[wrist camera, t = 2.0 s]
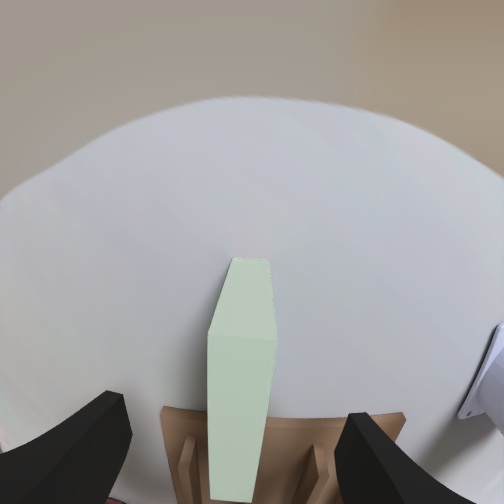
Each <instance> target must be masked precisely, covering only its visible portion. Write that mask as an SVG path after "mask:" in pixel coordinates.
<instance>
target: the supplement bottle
mask: <svg viewBox="0 0 504 504" xmlns="http://www.w3.org/2000/svg"><path fill="white" fill-rule="evenodd" d="M105 504H125V503H122V502H120V501H118V500H114V499H111V498H107V500H106V503H105Z"/></svg>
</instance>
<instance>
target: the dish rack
mask: <svg viewBox="0 0 504 504" xmlns="http://www.w3.org/2000/svg"><path fill="white" fill-rule="evenodd" d="M160 416H161V423H162V429H163V435H164V440H165V446H166V451H167V456H168V461H169V466H170V471H171V476H172V480H173V485H174V489H175V493H176V497H177V501H178V504H343V500H342V497H341V493H340V489H339V485H338V481H337V476H336V468H335V459H334V450H335V448H336V445H337V443H338V440H339V438H340V435H341V433H342V430H343V428H344V425H345V423H346V420H347V417H346V418H319V419H289V418H266V423H265V429H264V435H263V441H262V447H261V453H260V458H259V464H258V470H257V475H256V481H255V486H254V492H253V497H252V502H251V503H249V502H234V501H223V500H214V499H210V481H209V454H208V413H206V412H199V411H191V410H185V409H178V408H172V407H167V406H163V409H162V411H161V414H160ZM370 417H371V418H372V419H373V420H374V421H375V422H376V423H377V424H378V426H379V427H380V428H381V429H382V430H383V431H384V432H385V433H386V434H387V435H388V436H389V437H390V438H391V440H392V441H393V442H395V440H396V439H397V437H398V435H399V433H400V431H401V429H402V427H403V425H404V424H405V422H406V418H405V417H404V415H403V413H402V412H400V413H392V414H383V415H373V416H370Z"/></svg>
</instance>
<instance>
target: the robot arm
mask: <svg viewBox="0 0 504 504" xmlns="http://www.w3.org/2000/svg"><path fill="white" fill-rule="evenodd" d="M482 413H486V414H487V415H488V416H489V418H490V419H491V420H492V421H493V423H494V424H495V425H496V427H497V428H498V429H499V431H500V432H501V433H502V435H503V436H504V323H502V324H500V325H499V326H498V327H497V329H496V331H495V334H494V337H493V339H492V342H491V345H490V347H489V350H488V352H487V355H486V357H485V360H484V362H483V364H482V367H481V369H480V371H479V373H478V375H477V378H476V380H475V382H474V384H473V386H472V388H471V390H470V392H469V394H468V396H467V398H466V400H465V402H464V404H463V406H462V407H461V409H460V411H459V413H458V418H459V419H465V418H469V417H472V416H476V415H479V414H482ZM132 435H133V434H132V430H131V426H130V422H129V418H128V414H127V410H126V406H125V402H124V397H123V394H120V393H116V392H112V391H108V390H106V391H105V392H103V393H102V394H101V395H99V396H98V397H97V398H95V399H94V400H92V401H91V402H90V403H88V404H87V405H86V406H84V407H83V408H82V409H80V410H79V411H77V412H76V413H75V414H73V415H72V416H70V417H69V418H67V419H66V420H65V421H63V422H62V423H60V424H59V425H57V426H56V427H54V428H52V429H51V430H49V431H47V432H46V433H44V434H42V435H41V436H39V437H38V438H36V439H34V440H32V441H30V442H28V443H26V444H24V445H22V446H19V447H17V448H15V449H13V450H10V451H8V452H5V453H2V454H0V504H105V503H106V500H107V498H108V496H109V494H110V492H111V489H112V487H113V485H114V483H115V481H116V479H117V476H118V474H119V472H120V470H121V467H122V465H123V463H124V461H125V458H126V455H127V452H128V449H129V445H130V442H131V438H132ZM334 459H335V468H336V476H337V481H338V485H339V489H340V493H341V497H342V500H343V504H476V503H474V502H472V501H470V500H468V499H466V498H464V497H462V496H460V495H458V494H457V493H455V492H453V491H452V490H450V489H449V488H447V487H446V486H444V485H443V484H441V483H440V482H438V481H437V480H436V479H434V478H433V477H432V476H430V475H429V474H428V473H427V472H425V471H424V470H423V469H422V468H421V467H420V466H418V465H417V464H416V463H415V462H414V461H413V460H412V459H411V458H410V457H408V456H407V455H406V454H405V453H404V452H403V451H402V450H401V449H400V448H399V447H398V446H397V445H396V444H395V443H394V442H393V441H392V440H391V438H390V437H389V436H388V435H387V434H386V433H385V432H384V431H383V430H382V429H381V428H380V427H379V426H378V424H377V423H376V422H375V421H374V420H373V419H372V418H371V417H370V416H369V415H368V414H367V413H366V412H364V413H349V415H348V417H347V420H346V423H345V425H344V428H343V430H342V433H341V435H340V438H339V440H338V443H337V445H336V448H335V450H334Z"/></svg>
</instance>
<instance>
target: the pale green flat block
mask: <svg viewBox="0 0 504 504" xmlns="http://www.w3.org/2000/svg"><path fill="white" fill-rule="evenodd" d="M277 341H278V338H277V328H276V319H275V310H274V300H273V291H272V282H271V273H270V264H269V260H262V259H250V258H237V257H233V259H232V262H231V265H230V268H229V271H228V274H227V277H226V280H225V283H224V286H223V289H222V292H221V295H220V298H219V301H218V304H217V307H216V310H215V313H214V316H213V319H212V322H211V325H210V328H209V331H208V347H207V407H208V454H209V481H210V499H214V500H223V501H234V502H249V503H251V502H252V497H253V492H254V486H255V481H256V475H257V470H258V464H259V458H260V453H261V447H262V441H263V435H264V429H265V423H266V416H267V410H268V403H269V397H270V390H271V383H272V377H273V370H274V363H275V355H276V348H277Z"/></svg>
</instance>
